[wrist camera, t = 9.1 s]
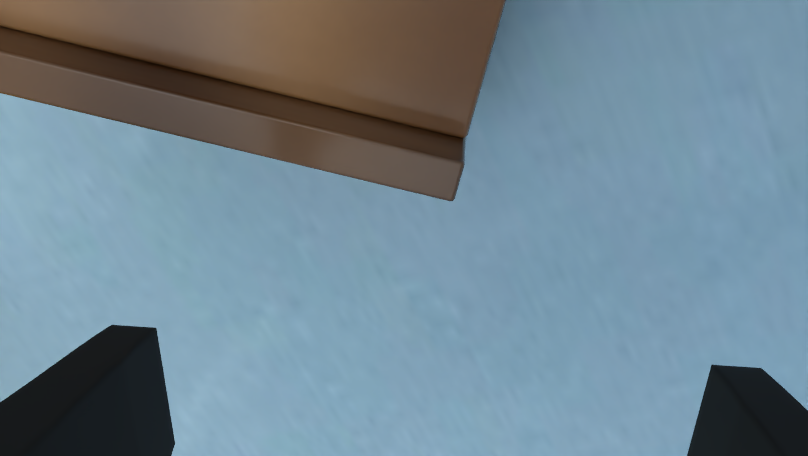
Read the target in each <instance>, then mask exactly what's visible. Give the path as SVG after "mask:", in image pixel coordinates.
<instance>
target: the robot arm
mask: <svg viewBox="0 0 808 456" xmlns="http://www.w3.org/2000/svg"><path fill="white" fill-rule="evenodd" d="M174 445H175V441H174V435H173V428H172V422H171V416H170V410H169V404H168V398H167V392H166V385H165V379H164V373H163V367H162V361H161V355H160V348H159V342H158V336H157V330H156V328H150V327H135V326H120V325H111V326H109V327H108V328H106V329H105V330H103V331H101V332H100V333H98V334H97V335H95V336H94V337H92V338H91V339H89V340H88V341H87V342H85V343H84V344H82V345H81V346H79V347H78V348H77V349H75V350H74V351H72V352H71V353H70V354H68V355H67V356H65V357H64V358H63V359H61V360H60V361H58V362H57V363H56V364H54V365H53V366H51V367H50V368H49V369H47V370H46V371H44V372H43V373H42V374H40V375H39V376H37V377H36V378H35V379H33V380H32V381H30V382H29V383H28V384H26V385H25V386H23V387H22V388H20V389H19V390H18V391H16V392H15V393H13V394H12V395H10V396H9V397H8V398H6V399H5V400H3V401H2V402H0V456H171V454H172V451H173V448H174ZM687 456H808V410H806V409H805V408H804V407H803V406H802V405H801V404H800V403H799V402H798V401H797V400H796V399H795V398H794V397H793V396H792V395H790V394H789V393H788V392H787V391H786V390H785V389H784V388H783V387H782V386H781V385H780V384H779V383H777V382H776V381H775V380H774V379H773V378H772V377H771V376H770V375H768V374H767V373H766V372H765V371H764V370H763V369H761V368H751V367H736V366H721V365H711V369H710V373H709V377H708V380H707V384H706V388H705V391H704V395H703V399H702V403H701V406H700V410H699V414H698V417H697V421H696V425H695V428H694V432H693V436H692V440H691V443H690V447H689V451H688V454H687Z"/></svg>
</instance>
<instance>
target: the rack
mask: <svg viewBox="0 0 808 456" xmlns="http://www.w3.org/2000/svg"><path fill="white" fill-rule="evenodd" d="M505 1H506V0H0V93H3V94H7V95H11V96H15V97H19V98H24V99H28V100H32V101H36V102H40V103H44V104H49V105H53V106H57V107H61V108H65V109H69V110H73V111H78V112H82V113H86V114H90V115H94V116H98V117H103V118H107V119H111V120H115V121H119V122H123V123H128V124H132V125H136V126H140V127H144V128H148V129H152V130H157V131H161V132H165V133H169V134H173V135H177V136H182V137H186V138H190V139H194V140H198V141H202V142H207V143H211V144H215V145H219V146H223V147H227V148H231V149H236V150H240V151H244V152H248V153H252V154H256V155H261V156H265V157H269V158H273V159H277V160H281V161H285V162H290V163H294V164H298V165H302V166H306V167H310V168H315V169H319V170H323V171H327V172H331V173H335V174H340V175H344V176H348V177H352V178H356V179H360V180H364V181H369V182H373V183H377V184H381V185H385V186H389V187H394V188H398V189H402V190H406V191H410V192H414V193H419V194H423V195H427V196H431V197H435V198H439V199H443V200H448V201H453V200H454V199H455V196H456V192H457V189H458V185H459V182H460V178H461V175H462V171H463V168H464V161H465V139H466V136H467V135H468V131H469V128H470V124H471V121H472V117H473V114H474V110H475V107H476V103H477V100H478V96H479V93H480V89H481V86H482V82H483V79H484V75H485V72H486V68H487V64H488V61H489V57H490V54H491V50H492V47H493V43H494V40H495V36H496V33H497V29H498V26H499V22H500V19H501V15H502V12H503V8H504V5H505Z"/></svg>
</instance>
